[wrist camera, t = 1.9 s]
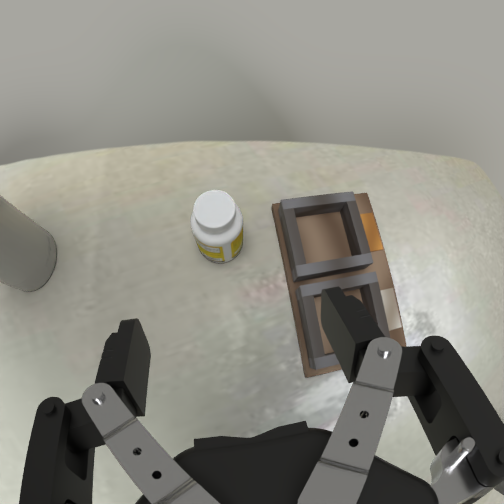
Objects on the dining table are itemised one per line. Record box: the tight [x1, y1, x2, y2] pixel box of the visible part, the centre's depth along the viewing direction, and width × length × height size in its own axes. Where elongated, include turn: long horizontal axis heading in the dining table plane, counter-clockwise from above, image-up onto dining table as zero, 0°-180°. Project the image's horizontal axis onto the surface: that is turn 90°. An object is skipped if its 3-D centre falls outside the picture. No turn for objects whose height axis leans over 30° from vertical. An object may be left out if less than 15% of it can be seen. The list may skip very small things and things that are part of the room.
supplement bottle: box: [190, 190, 243, 263], centre depth 34 cm, size 5×5×10 cm
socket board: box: [272, 192, 406, 378], centre depth 36 cm, size 13×21×4 cm, turn 10°
